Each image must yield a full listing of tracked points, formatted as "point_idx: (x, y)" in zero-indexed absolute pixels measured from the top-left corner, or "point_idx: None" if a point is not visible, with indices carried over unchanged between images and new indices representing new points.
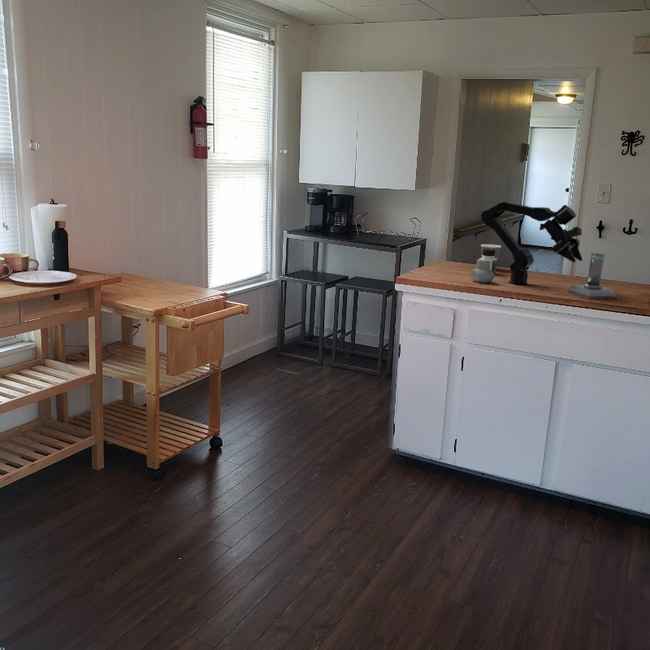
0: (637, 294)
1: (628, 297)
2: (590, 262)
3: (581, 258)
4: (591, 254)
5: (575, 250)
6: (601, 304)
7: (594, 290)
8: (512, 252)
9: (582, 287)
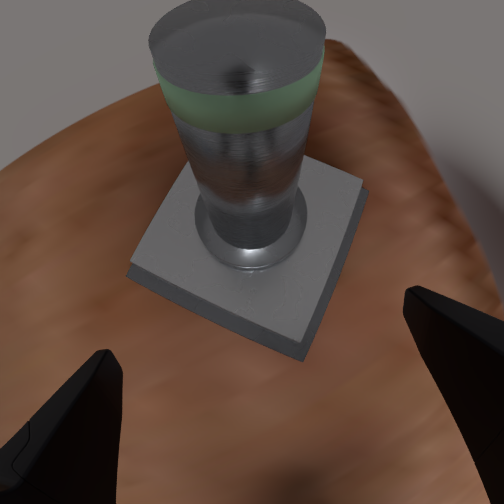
0: (52, 153)
1: (143, 130)
2: (293, 143)
3: (103, 362)
4: (297, 72)
5: (54, 499)
6: (401, 125)
7: (335, 169)
8: None
9: (329, 247)
